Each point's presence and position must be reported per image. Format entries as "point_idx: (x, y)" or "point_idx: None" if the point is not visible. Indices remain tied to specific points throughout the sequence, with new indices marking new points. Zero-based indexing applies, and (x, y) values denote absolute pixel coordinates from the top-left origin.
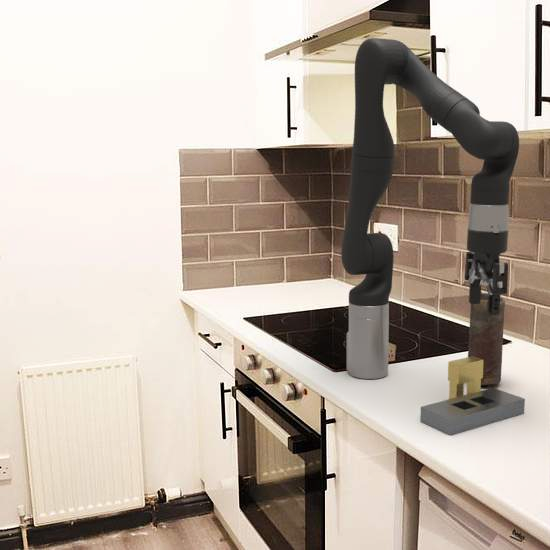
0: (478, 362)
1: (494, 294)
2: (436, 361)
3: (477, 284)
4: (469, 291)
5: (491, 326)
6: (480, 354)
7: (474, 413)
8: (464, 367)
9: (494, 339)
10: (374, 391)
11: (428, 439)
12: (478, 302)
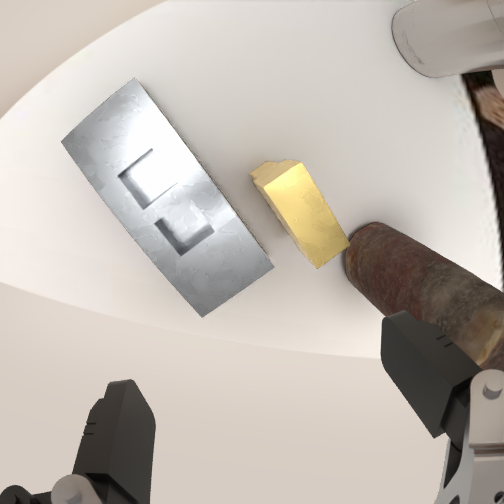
0: (305, 252)
1: (13, 487)
2: (476, 191)
3: (451, 428)
4: (445, 350)
5: None
6: (385, 269)
7: (100, 196)
8: (274, 205)
9: None
10: (326, 19)
11: (57, 101)
12: (385, 359)
